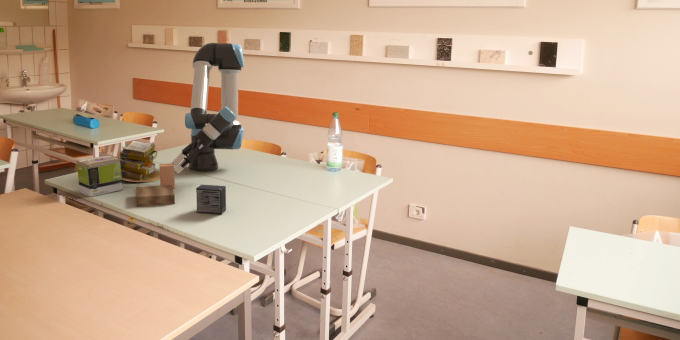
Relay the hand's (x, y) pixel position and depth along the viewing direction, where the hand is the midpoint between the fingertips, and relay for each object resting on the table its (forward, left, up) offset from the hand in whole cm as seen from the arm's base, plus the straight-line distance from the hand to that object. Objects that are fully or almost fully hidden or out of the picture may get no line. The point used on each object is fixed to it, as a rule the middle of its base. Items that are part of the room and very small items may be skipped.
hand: (174, 168), depth 246 cm
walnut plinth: (+9, +16, -9) cm, 21 cm away
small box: (-12, +37, -10) cm, 40 cm away
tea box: (+31, -1, -10) cm, 33 cm away
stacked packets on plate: (+16, -23, -10) cm, 30 cm away
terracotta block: (+3, 0, -9) cm, 10 cm away
